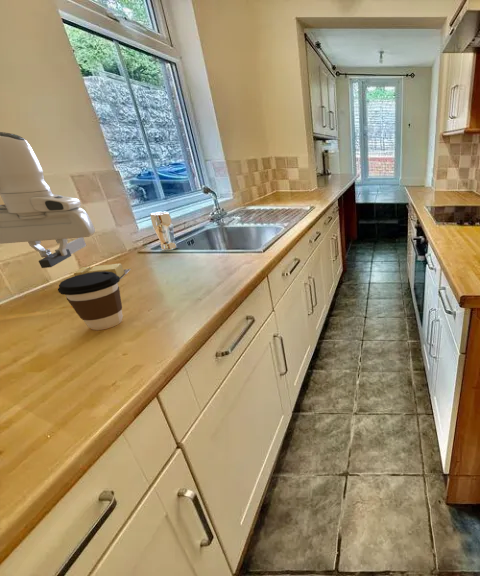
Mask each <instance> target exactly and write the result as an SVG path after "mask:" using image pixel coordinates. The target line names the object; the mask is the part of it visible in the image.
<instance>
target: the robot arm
mask: <svg viewBox="0 0 480 576" xmlns="http://www.w3.org/2000/svg"><path fill="white" fill-rule="evenodd" d="M44 177H45V176H44V170H43V168H42V166H41V163H40V161H39V159H38V156H37V155H36V152H35V151H34V150H33V148H32V146H31V145H30V143H29V142H28V141H27V140H26V139H25V138H23V137H22V136H20V135H17V134H15V133H9V132H4V131H0V198H1V199H2V202H3V204H0V245H3V244H4V245H5V244H15V243H28V245H29V247H31V248H32V249H34V250H35V251H36V252H38V254H39V255H40V258H41V259H43V258H45V257H47V256H49V255H51V254H52V252H51V249H49V248H45V247H44V246H42V245H41V244H42V241H55V243H56V244H59V246H58V248H57V249H55V250H54V253H55V252H56V253H57V256H65V255H67V251H66V249H65V248H66V245H67V244H68V243H69V242H68V239H78V238H89V237H92V236H93V235H94V234H95V232H96V229H95V226H94V223H93V221H92V219H91V217H90V216H89V214H88V212H86V211H85V209H83V208H81V206H82V204H81V201H80V199H78V198H76V197H71V196H66V195H60V194H56V193H53V192H52V189H51V188H50V185H48V184H47V181H46V180H45V178H44Z"/></svg>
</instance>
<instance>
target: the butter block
mask: <svg viewBox="0 0 480 576" xmlns="http://www.w3.org/2000/svg"><path fill="white" fill-rule="evenodd" d="M124 270H125V269H124V267H123V264H122V263H111V264H101V265H95V266H93V267H92V268H91V269H90V270H89V271H88V273H92V272H101V271H108V272H113V273H115V274H116V275H117V276H119V278H120V277H121V276H122V275H123V274H124Z"/></svg>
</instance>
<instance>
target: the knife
mask: <svg viewBox="0 0 480 576" xmlns="http://www.w3.org/2000/svg"><path fill="white" fill-rule="evenodd" d="M84 238H85V237H83V238H75V239H74V240H72V241H70V242H67V245H66V248H65V249H66V251H67V255H65V256H57V253H56V252H55V251H54V252H53V253H51V255H49V256H47V257H44V258H41V259H39V260H38V264H39V266H40V267H41V269H48V268H53V267H55V266H56V265H59V264H60V263H61V262H63V261H65V260H67V259H69V258H70V257H72V255H73V254H74V253H76V252H79V251H80V250H81V249H83V248H85V247H87V244H86V241H85V239H84Z"/></svg>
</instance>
